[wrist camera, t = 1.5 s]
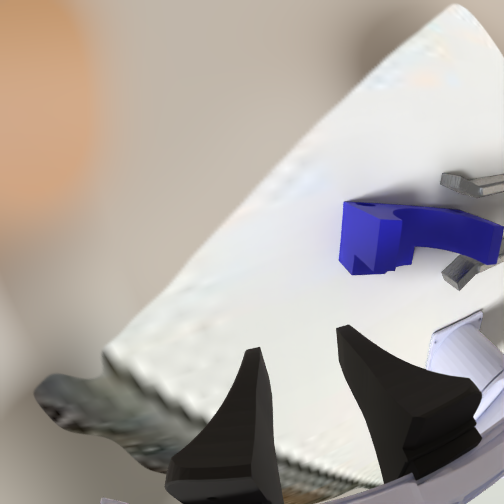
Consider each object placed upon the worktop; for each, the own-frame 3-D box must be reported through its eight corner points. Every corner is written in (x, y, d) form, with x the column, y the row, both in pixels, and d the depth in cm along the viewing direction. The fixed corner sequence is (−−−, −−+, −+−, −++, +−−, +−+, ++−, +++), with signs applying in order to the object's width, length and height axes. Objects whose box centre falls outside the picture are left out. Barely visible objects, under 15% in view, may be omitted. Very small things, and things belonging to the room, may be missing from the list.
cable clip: (338, 259, 21) (369, 295, 15) (342, 201, 20) (380, 219, 14) (450, 256, 21) (491, 282, 16) (458, 209, 20) (504, 226, 14)
